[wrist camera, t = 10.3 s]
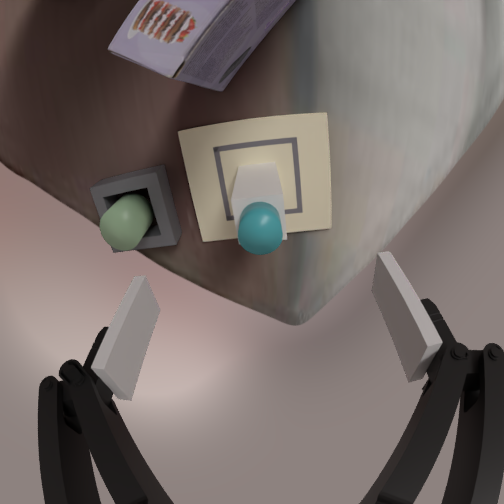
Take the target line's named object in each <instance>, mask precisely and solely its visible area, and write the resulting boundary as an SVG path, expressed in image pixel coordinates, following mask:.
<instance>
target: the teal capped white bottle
mask: <svg viewBox="0 0 504 504" xmlns="http://www.w3.org/2000/svg"><path fill="white" fill-rule="evenodd" d="M231 204H232V209H233V215H234V220H235V226H236V231H237V237H238V242H239V245H240V244H241V246H242V247H243V248H244V249H245V250H246V251H248V252H250V253H253V254H257V255H263V254H268V253H271V252H272V251H274V250H275V249H277V248H278V246H279V245H280V244H281V242H282V240H287V232H286V220H285V209H284V199H283V192H282V187H281V183H280V179H279V175H278V171H277V167H276V163H275V162H268V163H259V164H251V165H243V166H239V167H238V171H237V175H236V180H235V184H234V188H233V193H232V197H231Z"/></svg>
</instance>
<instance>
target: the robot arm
mask: <svg viewBox="0 0 504 504" xmlns="http://www.w3.org/2000/svg"><path fill="white" fill-rule="evenodd" d="M372 293H373V295H374V297H375V299H376V302H377V304H378V306H379V308H380V311H381V313H382V315H383V318H384V320H385V322H386V325H387V327H388V329H389V332H390V335H391V337H392V340H393V342H394V345H395V347H396V350H397V352H398V355H399V358H400V360H401V363H402V366H403V368H404V371H405V374H406V377H407V379H408V382H412V381H416V380H419V379H422V378H423V377H424V375H425V373H426V372H427V374H428V377H429V379H428V380H427V382H426V384H425V385H424V387H423V388H422V390H423V393H422V395H421V397H420V399H419V402H418V404H417V406H416V409H415V411H414V413H413V415H412V417H411V419H410V421H409V424H408V425H407V428H406V430H405V431H404V433H403V435H402V437H401V439H400V441H399V443H398V445H397V447H396V448H395V450H394V452H393V454H392V455H391V457H390V459H389V460H388V462H387V464H386V465H385V467H384V469H383V470H382V472H381V473H380V475H379V477H378V478H377V480H376V481H375V483H374V484H373V486H372V487H371V488H370V490H369V492H368V493H367V494H366V496H365V497H364V498H363V500H362V501H361V502H360V503H359V504H413V503H414V501H415V499H416V498H417V496H418V494H419V492H420V491H421V489H422V487H423V485H424V483H425V482H426V480H427V478H428V476H429V474H430V472H431V470H432V468H433V466H434V464H435V461H436V459H437V457H438V455H439V453H440V450H441V448H442V446H443V443H444V441H445V438H446V436H447V434H448V431H449V428H450V426H451V423H452V420H453V417H454V414H455V412H456V408H457V405H458V402H459V399H460V409H459V419H458V428H457V435H456V442H455V449H454V454H453V459H452V464H451V470H450V474H449V478H448V483H447V486H446V490H445V493H444V497H443V500H442V504H497V503H498V498H499V494H500V489H501V484H502V478H503V472H504V352H503V350H502V348H501V347H500V346H499V345H497V344H495V343H489V344H487V345H486V346H485V348H484V349H483V350H468V348H467V347H466V346H465V345H463V344H461V343H457V342H456V340H455V338H454V337H453V335H452V333H451V331H450V329H449V327H448V326H447V324H446V322H445V320H443V317H442V315H441V314H440V312H439V310H438V308H437V307H436V305H435V304H434V303H433V302H432V301H431V300H429V299H428V298H427V299H422V300H420V299H419V298H418V296H417V294H416V293H415V291H414V289H413V288H412V286H411V284H410V283H409V281H408V279H407V278H406V276H405V274H404V273H403V271H402V270H401V268H400V267H399V265H398V263H397V262H396V260H395V259H394V257H393V256H392V254H391V253H390V252H380V253H377V260H376V267H375V274H374V281H373V286H372ZM159 312H160V308H159V306H158V303H157V301H156V299H155V297H154V294H153V292H152V290H151V287H150V285H149V283H148V280H147V278H146V276H135V277H134V278H133V280H132V282H131V284H130V286H129V288H128V290H127V292H126V293H125V296H124V298H123V300H122V301H121V303H120V305H119V307H118V309H117V311H116V313H115V315H114V318H113V320H112V322H111V324H110V326H109V327H104V328H103V329H102V330H101V331H100V332H99V333H98V335H97V337H96V339H95V343H93V346H92V349H91V350H90V352H89V355H88V357H87V359H86V361H85V363H84V366H83V367H82V365H81V364H80V363H79V362H78V361H77V360H72V359H71V360H68V361H66V362H65V363H64V364H63V365H62V366H61V368H60V370H59V376H60V378H61V379H62V380H63V381H58V380H57V379H56V378H55V377H53V376H48V377H46V378H44V379H43V380H42V382H41V383H40V386H39V399H38V446H39V461H40V471H41V480H42V488H43V493H44V500H45V504H101V502H100V498H99V494H98V490H97V486H96V481H95V477H94V472H93V467H92V462H91V456H90V452H91V454H92V457H93V459H94V461H95V464H96V466H97V468H98V470H99V472H100V475H101V477H102V479H103V481H104V483H105V485H106V487H107V489H108V491H109V493H110V494H111V496H112V498H113V500H114V502H115V504H174V503H173V502H172V500H171V499H170V498H169V496H168V495H167V493H166V492H165V491H164V489H163V488H162V486H161V485H160V483H159V482H158V480H157V479H156V477H155V476H154V474H153V473H152V471H151V470H150V468H149V466H148V465H147V463H146V461H145V460H144V458H143V456H142V455H141V453H140V451H139V450H138V448H137V446H136V444H135V443H134V440H133V439H132V437H131V435H130V433H129V431H128V429H127V427H126V425H125V423H124V421H123V419H122V417H121V415H120V413H119V411H118V409H117V407H116V405H115V402H114V401H113V400H112V395H113V393H114V394H115V395H116V396H117V398H119V399H123V400H130V401H131V399H132V396H133V393H134V389H135V386H136V382H137V379H138V376H139V373H140V369H141V366H142V363H143V360H144V356H145V354H146V351H147V347H148V344H149V341H150V338H151V336H152V333H153V329H154V327H155V323H156V321H157V318H158V315H159ZM89 449H90V450H89Z"/></svg>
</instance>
